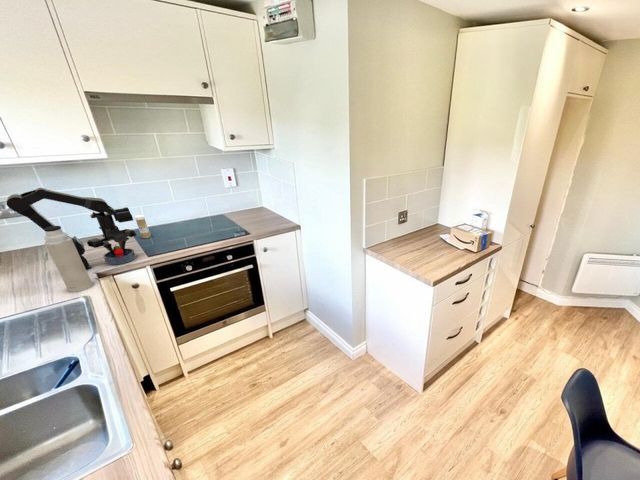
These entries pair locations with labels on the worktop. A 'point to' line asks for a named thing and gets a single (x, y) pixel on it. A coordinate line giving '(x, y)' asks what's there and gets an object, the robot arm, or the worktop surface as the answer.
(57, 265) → the thermos bottle
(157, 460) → the worktop surface
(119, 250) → the strawberry
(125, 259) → the bowl
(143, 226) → the sprinkles bottle
